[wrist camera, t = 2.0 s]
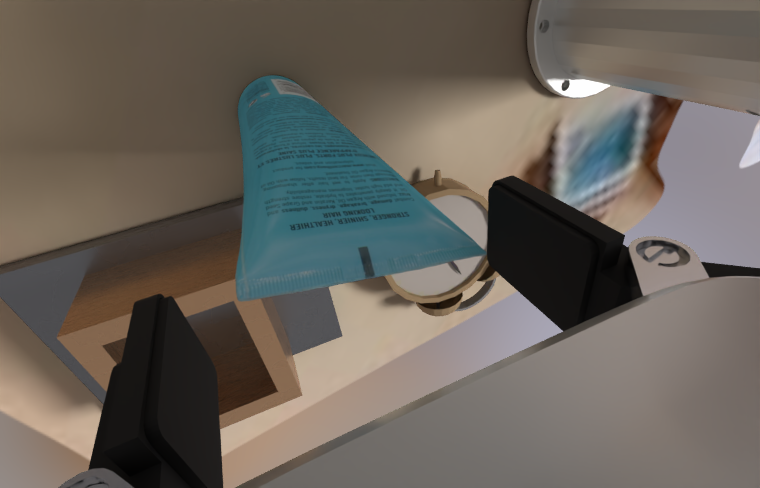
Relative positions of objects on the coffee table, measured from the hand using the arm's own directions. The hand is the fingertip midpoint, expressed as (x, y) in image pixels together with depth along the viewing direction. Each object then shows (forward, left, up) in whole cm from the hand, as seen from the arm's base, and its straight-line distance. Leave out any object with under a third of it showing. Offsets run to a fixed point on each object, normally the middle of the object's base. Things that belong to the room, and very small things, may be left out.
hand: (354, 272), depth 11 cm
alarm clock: (-12, +15, -19) cm, 27 cm away
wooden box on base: (+9, +13, -19) cm, 25 cm away
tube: (-1, 0, -19) cm, 19 cm away
